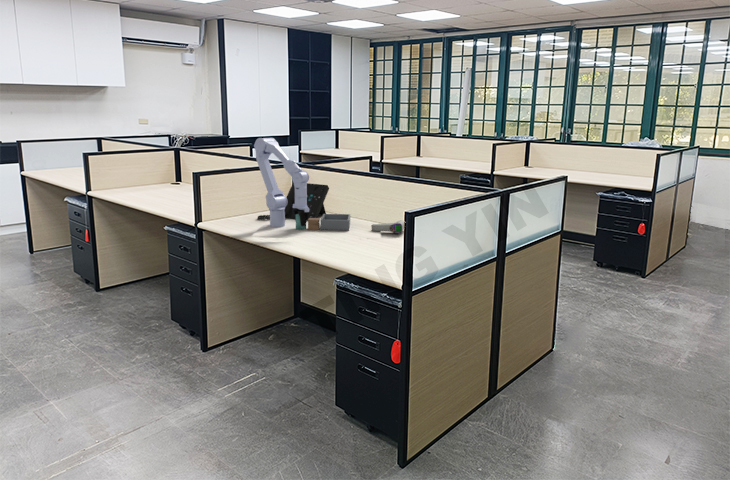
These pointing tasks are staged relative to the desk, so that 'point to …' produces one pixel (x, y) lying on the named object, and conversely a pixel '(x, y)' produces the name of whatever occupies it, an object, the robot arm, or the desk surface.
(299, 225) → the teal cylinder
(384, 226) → the infrared thermometer
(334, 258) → the desk surface
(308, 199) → the office phone
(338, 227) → the charcoal tote
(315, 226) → the walnut cube
